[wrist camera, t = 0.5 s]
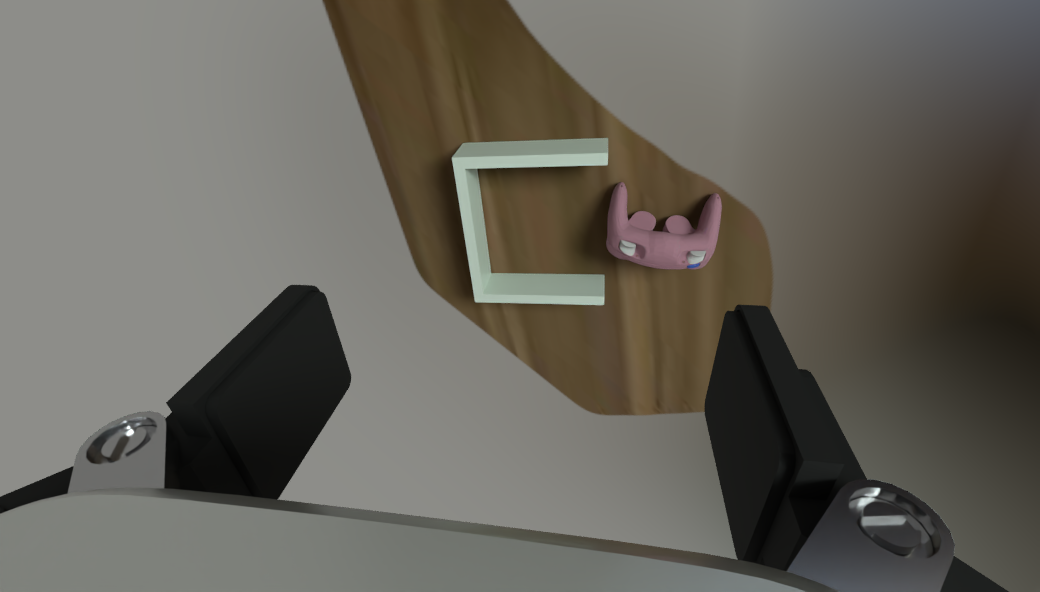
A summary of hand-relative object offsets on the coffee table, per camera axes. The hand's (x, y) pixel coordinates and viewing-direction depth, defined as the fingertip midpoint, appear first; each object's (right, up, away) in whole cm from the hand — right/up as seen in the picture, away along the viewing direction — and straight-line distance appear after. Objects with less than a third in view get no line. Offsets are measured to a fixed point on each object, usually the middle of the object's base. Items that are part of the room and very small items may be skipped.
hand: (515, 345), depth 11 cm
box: (+2, +9, +35) cm, 37 cm away
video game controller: (+13, +9, +34) cm, 37 cm away
